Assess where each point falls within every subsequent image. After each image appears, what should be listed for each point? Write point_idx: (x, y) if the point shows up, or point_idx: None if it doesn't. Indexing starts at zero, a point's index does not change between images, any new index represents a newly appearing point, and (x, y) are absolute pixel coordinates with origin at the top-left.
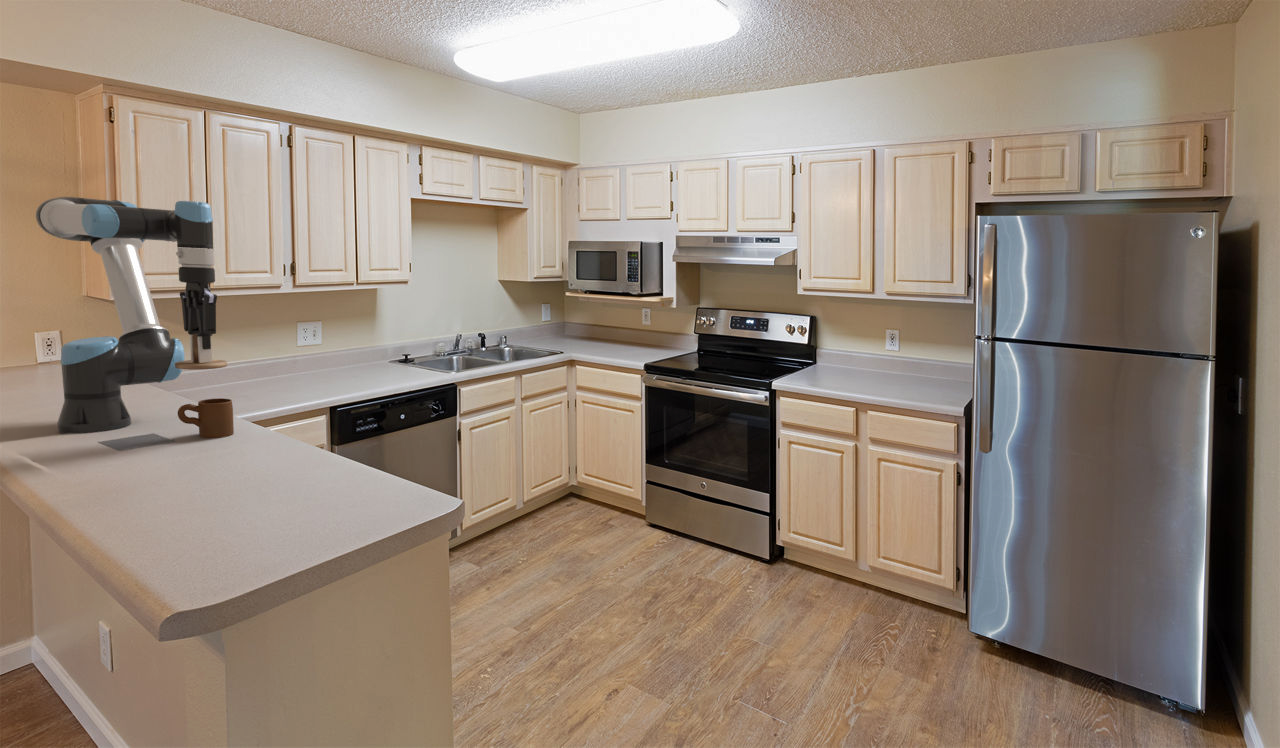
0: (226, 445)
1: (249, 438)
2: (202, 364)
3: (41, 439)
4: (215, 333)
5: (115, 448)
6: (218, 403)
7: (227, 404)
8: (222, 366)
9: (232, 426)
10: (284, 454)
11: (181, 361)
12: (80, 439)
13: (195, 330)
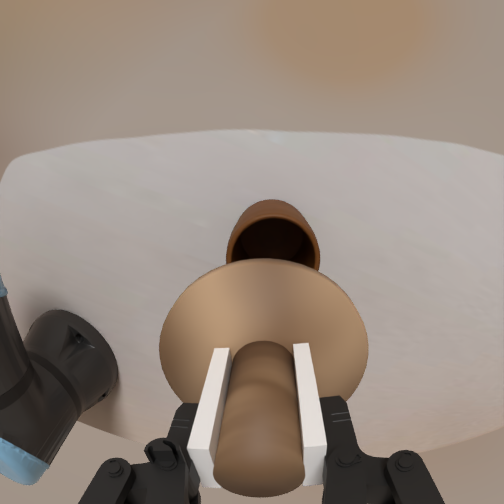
0: (360, 249)
1: (334, 186)
2: (331, 381)
3: (119, 417)
4: (412, 451)
5: None
6: (317, 268)
7: (316, 240)
8: (355, 307)
9: (298, 211)
10: (483, 204)
11: (190, 402)
12: (143, 395)
13: (188, 490)
